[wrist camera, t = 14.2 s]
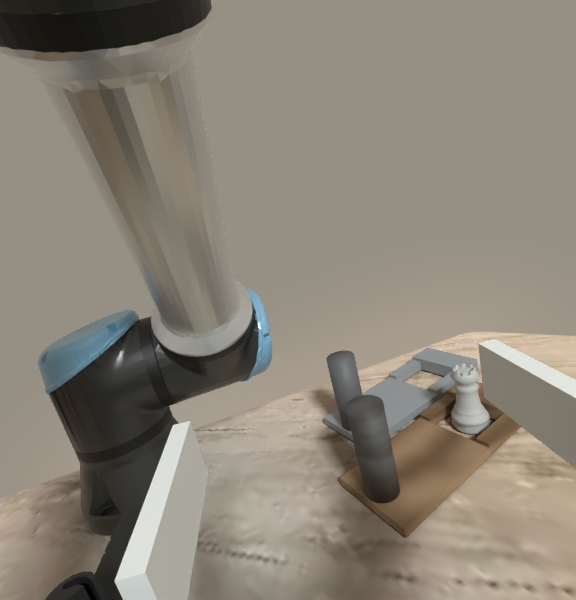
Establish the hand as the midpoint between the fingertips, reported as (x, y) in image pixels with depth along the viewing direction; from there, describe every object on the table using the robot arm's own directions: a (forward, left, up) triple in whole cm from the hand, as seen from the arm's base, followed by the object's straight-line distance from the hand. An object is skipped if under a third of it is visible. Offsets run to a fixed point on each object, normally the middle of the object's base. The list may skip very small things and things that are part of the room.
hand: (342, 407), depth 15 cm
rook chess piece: (-13, +27, -22) cm, 37 cm away
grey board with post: (-23, +27, -22) cm, 42 cm away
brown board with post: (-13, +21, -22) cm, 33 cm away
